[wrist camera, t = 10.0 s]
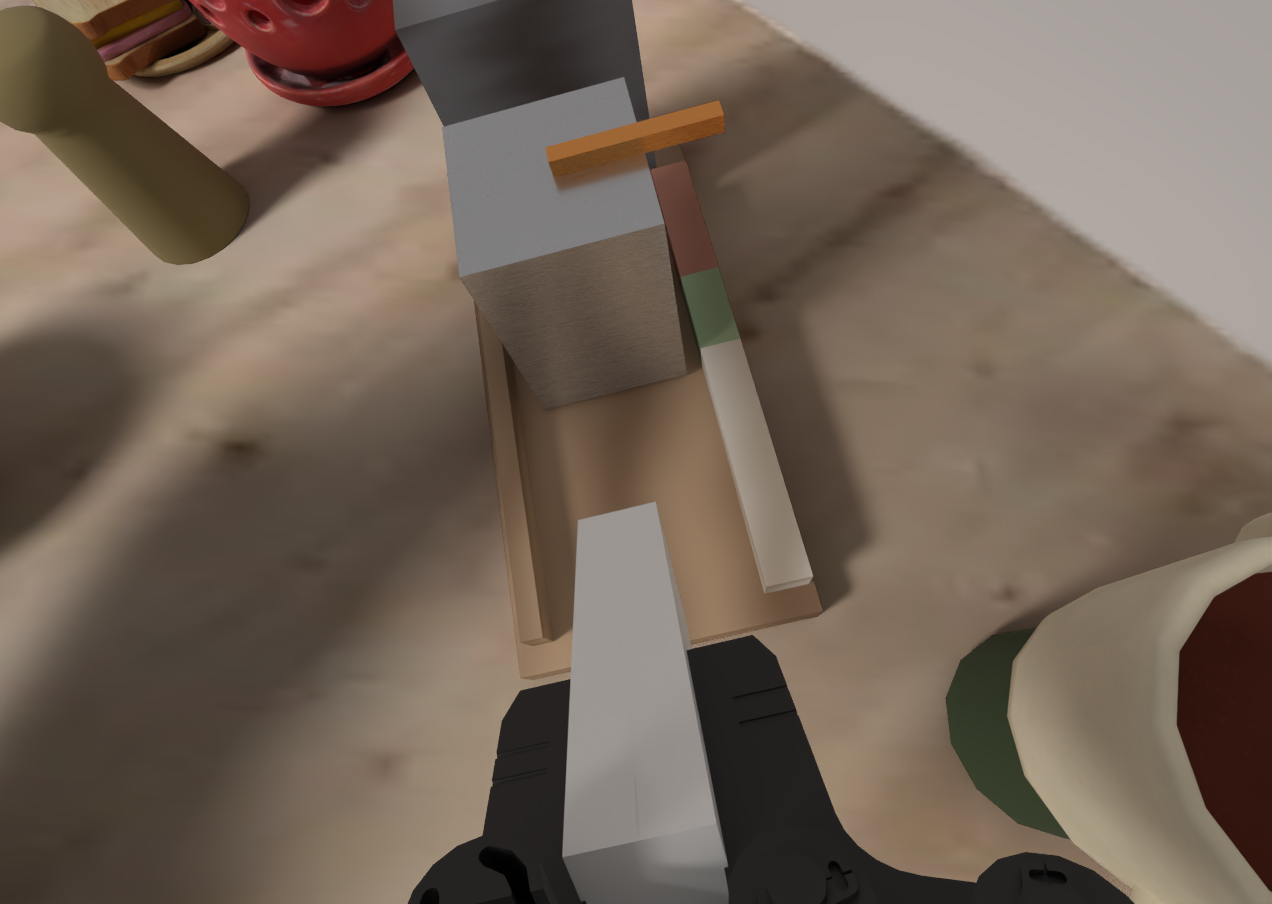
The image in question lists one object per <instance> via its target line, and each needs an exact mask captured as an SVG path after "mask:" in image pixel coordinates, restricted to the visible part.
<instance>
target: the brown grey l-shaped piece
mask: <svg viewBox="0 0 1272 904" xmlns="http://www.w3.org/2000/svg"><path fill="white" fill-rule="evenodd" d="M393 10H394V22H395V31H396V33H397V35H398V37H399V39H400V41H401V43H402V44H403V46H404V48H405V50H406V52H407V54H408V56H409V58H410V60H411V62H412V64H413V66H414V68H415V70H416V72H417V74H418V76H419V78H420V80H421V82H422V84H423V86H424V88H425V90H426V92H427V94H428V96H429V98H430V100H431V102H432V104H433V106H434V108H435V110H436V112H437V114H438V116H439V118H440V120H441V122H442V124H443V126H444V127H445V126H448V125H452V124H456V123H459V122H463V121H466V120H470V119H474V118H477V117H481V116H485V115H488V114H492V113H495V112H499V111H503V110H506V109H510V108H513V107H517V106H521V105H524V104H528V103H532V102H535V101H539V100H542V99H546V98H550V97H553V96H557V95H560V94H564V93H568V92H571V91H575V90H579V89H582V88H586V87H589V86H593V85H597V84H600V83H604V82H607V81H611V80H615V79H618V78H622V77H624V79H625V82H626V86H627V90H628V93H629V97H630V100H631V104H632V108H633V111H634V115H635V119H636V122H640V121H644V120H647V119H649V113H648V106H647V99H646V93H645V86H644V79H643V72H642V66H641V59H640V52H639V45H638V39H637V32H636V25H635V18H634V12H633V5H632V0H393ZM645 155H646V159H647V162H648V166H649V169H650V173H651V177H652V180H653V184H654V188H655V191H656V195H657V198H658V202H659V206H660V209H661V213H662V217H663V220H664V224H665V231H666V238H667V244H668V251H669V258H670V264H671V271H672V278H673V284H674V291H675V298H676V304H677V311H678V318H679V325H680V331H681V338H682V345H683V351H684V358H685V365H686V371H687V375H684V376H680V377H676V378H672V379H668V380H663V381H659V382H655V383H651V384H647V385H643V386H639V387H635V388H631V389H627V390H623V391H619V392H615V393H611V394H607V395H603V396H599V397H595V398H591V399H587V400H583V401H579V402H575V403H571V404H567V405H563V406H558V407H554V408H550V409H546V410H545V409H544V407H543V406H542V404H541V403H540V401H539V400H538V398H537V396H536V395H535V393H534V392H533V390H532V389H531V387H530V386H529V384H528V383H527V381H526V379H525V378H524V376H523V375H522V373H521V372H520V370H519V369H518V367H517V366H516V364H515V362H514V361H513V359H512V358H511V356H510V355H509V353H508V352H507V350H506V349H505V347H504V345H503V344H502V342H501V341H500V339H499V338H498V336H497V335H496V333H495V331H494V330H493V328H492V327H491V325H490V324H489V322H488V321H487V319H486V318H485V316H484V314H483V313H482V311H481V310H480V308H479V307H478V305H477V304H476V302H475V301H474V304H475V312H476V320H477V328H478V337H479V345H480V353H481V361H482V369H483V377H484V385H485V394H486V402H487V410H488V418H489V426H490V434H491V442H492V451H493V459H494V467H495V475H496V483H497V491H498V499H499V507H500V516H501V524H502V532H503V540H504V548H505V556H506V564H507V573H508V581H509V589H510V597H511V605H512V613H513V621H514V630H515V638H516V646H517V654H518V662H519V670H520V678H523V679H530V680H534V679H538V678H543V677H547V676H552V675H556V674H561V673H565V672H570V671H571V660H572V638H573V617H574V595H575V574H576V553H577V531H578V520H581V519H585V518H589V517H593V516H598V515H602V514H606V513H610V512H614V511H619V510H623V509H627V508H631V507H635V506H640V505H644V504H648V503H652V502H656V505H657V509H658V513H659V517H660V521H661V524H662V528H663V532H664V536H665V540H666V544H667V548H668V552H669V556H670V560H671V564H672V568H673V572H674V576H675V580H676V584H677V587H678V591H679V595H680V599H681V603H682V607H683V611H684V615H685V619H686V624H687V629H688V634H689V639H690V644H695V643H700V642H704V641H709V640H713V639H718V638H722V637H727V636H731V635H736V634H740V633H745V632H749V631H754V630H758V629H763V628H767V627H772V626H776V625H781V624H785V623H790V622H794V621H799V620H803V619H808V618H812V617H817V616H819V614H820V613H821V612H822V611H823V610H822V606H821V603H820V600H819V597H818V593H817V590H816V587H815V584H814V580H813V574H812V570H811V567H810V564H809V561H808V557H807V554H806V551H805V548H804V544H803V541H802V538H801V535H800V531H799V528H798V525H797V521H796V518H795V515H794V512H793V508H792V505H791V502H790V499H789V495H788V492H787V489H786V486H785V482H784V479H783V476H782V473H781V469H780V466H779V463H778V460H777V456H776V453H775V450H774V446H773V443H772V440H771V437H770V433H769V430H768V427H767V424H766V420H765V417H764V414H763V411H762V407H761V404H760V401H759V398H758V394H757V391H756V388H755V385H754V381H753V378H752V375H751V372H750V368H749V365H748V362H747V358H746V355H745V352H744V349H743V345H742V342H741V339H740V336H739V332H738V329H737V326H736V323H735V319H734V316H733V313H732V310H731V306H730V303H729V300H728V297H727V293H726V290H725V287H724V283H723V280H722V277H721V274H720V270H719V267H718V264H717V261H716V257H715V254H714V251H713V248H712V244H711V241H710V238H709V235H708V231H707V228H706V225H705V222H704V218H703V215H702V212H701V208H700V205H699V202H698V199H697V195H696V192H695V189H694V186H693V182H692V179H691V176H690V173H689V169H688V166H687V163H686V160H685V159H684V156H683V152H682V149H681V146H680V144H677V145H674V146H670V147H666V148H663V149H659V150H655V151H651V152H648V153H645Z"/></svg>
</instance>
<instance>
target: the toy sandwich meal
mask: <svg viewBox="0 0 1272 904" xmlns="http://www.w3.org/2000/svg"><path fill="white" fill-rule="evenodd" d="M33 1H34V3H35V5H36V6H37V7H41V8H44V9H46V10H48V11H51V12H53V13H55V14H57V15H59V16H61V17H62V18H64V19H66V20H67V21H68V22H70V23H71V24H73V25H74V26H75V27H77V28H78V29H80V30H81V31H82V33H83V34H84V35H85V36H86V37H87V38H88V39H89V40H90V41H91V42H92V43H93V45H94V46H95V48H96V49H97V51H98V53H99V54H100V56H101V57H102V59H103V61H104V63H105V65H106V67H107V72H108V76H109V78H110V79H112V80H115V81H119V80H126V79H129V78H130V77H132V76H133V75H136V76H143V77H158V76H166V75H171V74H175V73H179V72H182V71H185V70H188V69H191V68H193V67H196V66H198V65H200V64H202V63H204V62H206V61H208V60H210V59H211V58H213V57H215V56H216V55H218V54H219V53H221V52H222V51H224V50H225V49H226V48H228V47H229V46H230V45H231V44H232V43H234V42H235V41H234V40H232V39H231V38H230V37H228V36H227V35H226V34H225V33H223V32H222V31H221V30H220V29H218V28H217V27H216V26H215V25H214V24H213V23H211V22H210V21H209V20H208V19H207V18H206V17H205V16H204V15H203V14H202V13H201V12H200V11H199V10H198V9H197V8H196V7H195V6H194V5H193V4H192V3H191V2H190V1H189V0H33Z"/></svg>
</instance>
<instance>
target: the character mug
mask: <svg viewBox="0 0 1272 904" xmlns="http://www.w3.org/2000/svg"><path fill="white" fill-rule="evenodd" d="M946 705H947V713H948V721H949V729H950V738H951V744H952V746H953V748H954V750H955V751H956V753H957V755H958V757H959V758H960V760H961V762H962V764H963V765H964V767H965V769H966V771H967V772H968V774H969V776H970V778H971V779H972V781H973V783H974V785H975V786H976V788H977V789H978V790H979V791H980V792H981V793H982V794H984V795H985V796H986V797H987V798H988V799H990V800H991V801H992V802H993V803H994V804H996V805H997V806H998V807H999V808H1000V809H1001V810H1003V811H1004V812H1005V813H1006V814H1007V815H1009V816H1010V817H1011V818H1012V819H1013V820H1015V821H1016V822H1017V823H1018V824H1021V825H1024V826H1028V827H1031V828H1034V829H1037V830H1040V831H1044V832H1047V833H1050V834H1053V835H1056V836H1059V837H1063V838H1067V839H1071V841H1072V842H1073V843H1074V844H1075V845H1076V846H1078V847H1079V848H1080V849H1081V850H1083V851H1084V852H1085V853H1086V854H1088V855H1089V856H1090V857H1091V858H1093V859H1094V860H1095V861H1097V862H1098V863H1099V864H1100V865H1102V866H1103V867H1104V868H1105V869H1107V870H1108V871H1109V872H1111V873H1112V874H1113V875H1114V876H1116V877H1117V878H1118V879H1119V880H1121V881H1122V882H1123V883H1125V884H1126V885H1127V886H1128V887H1130V888H1131V889H1132V892H1131V895H1130V899H1131V900H1132V901H1133V902H1134V903H1135V904H1272V512H1270V513H1268V514H1265V515H1262V516H1259V517H1257V518H1255V519H1253V520H1252V521H1250V522H1249V523H1247V524H1246V525H1244V526H1243V527H1242V528H1241V530H1240V532H1239V534H1238V536H1237V538H1236V540H1235V542H1234V543H1232V544H1229V545H1226V546H1223V547H1220V548H1217V549H1214V550H1211V551H1208V552H1205V553H1202V554H1199V555H1196V556H1193V557H1190V558H1186V559H1183V560H1180V561H1177V562H1174V563H1171V564H1168V565H1165V566H1162V567H1159V568H1156V569H1153V570H1150V571H1147V572H1144V573H1141V574H1138V575H1134V576H1131V577H1128V578H1125V579H1122V580H1119V581H1116V582H1113V583H1110V584H1107V585H1104V586H1101V587H1098V588H1096V589H1094V590H1092V591H1090V592H1089V593H1087V594H1085V595H1083V596H1081V597H1080V598H1078V599H1076V600H1074V601H1072V602H1071V603H1069V604H1067V605H1065V606H1063V607H1062V608H1060V609H1058V610H1056V611H1054V612H1053V613H1051V614H1049V615H1048V616H1047V617H1045V618H1044V619H1043V620H1042V621H1041V623H1040V624H1039V625H1038V627H1036V628H1031V629H1025V630H1019V631H1014V632H1008V633H1003V634H997V635H993V636H991V637H990V638H989V639H987V640H986V641H985V642H984V643H982V644H981V645H980V646H978V647H977V648H976V649H975V650H973V651H972V652H971V653H969V654H968V655H967V656H965V657H964V658H963V659H962V660H961V661H960V663H959V666H958V668H957V671H956V673H955V676H954V679H953V681H952V684H951V686H950V689H949V691H948V694H947V696H946Z"/></svg>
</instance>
